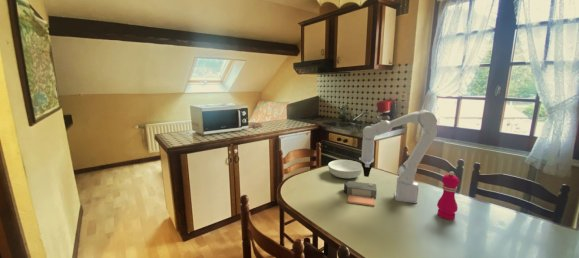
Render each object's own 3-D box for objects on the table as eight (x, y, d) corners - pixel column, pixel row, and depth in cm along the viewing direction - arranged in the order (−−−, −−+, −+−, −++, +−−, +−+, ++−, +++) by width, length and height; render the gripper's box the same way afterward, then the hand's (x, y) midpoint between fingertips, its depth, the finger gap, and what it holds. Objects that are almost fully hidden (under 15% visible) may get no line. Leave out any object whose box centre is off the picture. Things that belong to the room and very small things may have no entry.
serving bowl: (327, 168, 159) (327, 159, 158) (359, 170, 156) (360, 160, 155) (328, 181, 139) (328, 170, 138) (365, 183, 136) (366, 171, 135)
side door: (374, 198, 116) (374, 204, 110) (373, 199, 117) (374, 206, 110) (348, 194, 120) (347, 200, 113) (348, 196, 120) (347, 202, 114)
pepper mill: (453, 213, 105) (459, 169, 101) (458, 221, 98) (465, 175, 94) (434, 210, 107) (439, 167, 103) (438, 218, 100) (444, 173, 97)
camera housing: (375, 192, 125) (375, 183, 124) (375, 199, 117) (376, 189, 116) (344, 188, 129) (345, 179, 129) (343, 194, 122) (343, 185, 121)
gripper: (359, 146, 127) (358, 170, 130) (359, 153, 114) (357, 180, 116) (373, 147, 125) (372, 171, 128) (374, 155, 112) (373, 182, 114)
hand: (366, 176), depth 122 cm, fingers closed
